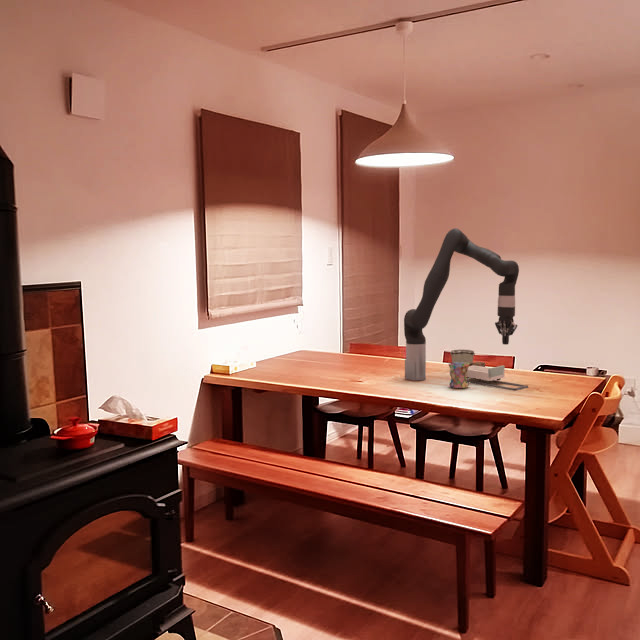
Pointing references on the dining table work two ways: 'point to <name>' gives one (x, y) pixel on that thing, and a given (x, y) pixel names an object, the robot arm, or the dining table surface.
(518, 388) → the rails
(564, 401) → the dining table surface
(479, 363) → the block
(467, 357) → the food container
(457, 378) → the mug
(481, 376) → the cart
